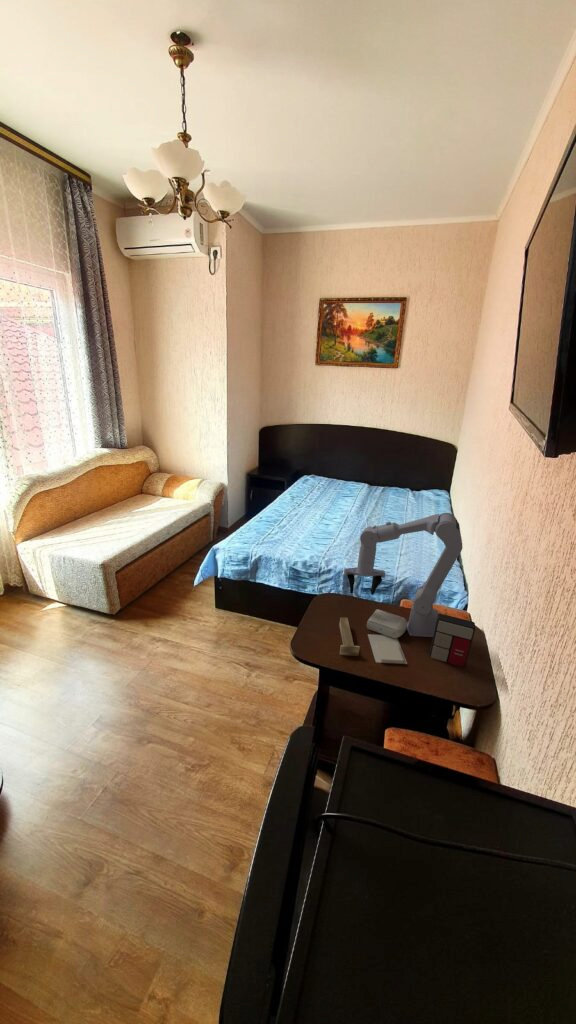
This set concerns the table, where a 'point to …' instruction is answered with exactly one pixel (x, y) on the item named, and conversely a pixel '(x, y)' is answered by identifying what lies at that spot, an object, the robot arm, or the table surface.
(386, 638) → the mat
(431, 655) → the grey red panelled box
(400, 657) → the tile
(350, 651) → the tan wooden slat
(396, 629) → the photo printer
